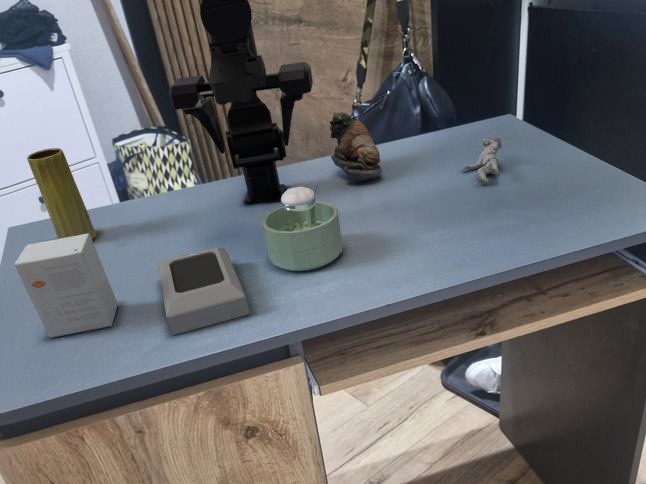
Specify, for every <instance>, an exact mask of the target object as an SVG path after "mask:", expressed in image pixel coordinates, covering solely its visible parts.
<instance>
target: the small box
mask: <svg viewBox="0 0 646 484" xmlns="http://www.w3.org/2000/svg"><path fill="white" fill-rule="evenodd" d="M13 266H14V268H15V270H16V272H17V275H18V276H19V278H20V280H21V282H22V284H23V286H24V288H25V290H26V293H27V295H28V297H29V299H30V301H31V303H32V305H33V307H34V309H35V311H36V313H37V315H38V317H39V319H40V322H41V323H42V325H43V327H44V330H45V332H46V333H47V335H48V337H49V338H50V339H51V338H57V337H62V336H67V335H72V334H78V333H83V332H88V331H93V330H98V329H99V330H100V329H105V328H107V327H112V326H113V323H114V320H115V315H116V313H117V308H118V306H119V303H118V300H117V298H116V296H115V293H114V290H113V288H112V286H111V283H110V281H109V278H108V276H107V272H106V271H105V268H104V265H103V263H102V261H101V259H100V256H99V253H98V250H97V249H96V246H95V244H94V240H92V239H91V236H90V234H89V233H88V234H83V235H78V236H72V237H67V238H61V239H58V238H57V239H51V240H46V241H45V240H44V241H41V242H35V243H29V244H26V245H25V246H24V248H23V249H22V251H21V253H20V254H19V256H18V257H17V259H16V261H15V262H14V264H13Z"/></svg>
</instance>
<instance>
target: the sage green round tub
mask: <svg viewBox="0 0 646 484" xmlns="http://www.w3.org/2000/svg"><path fill="white" fill-rule="evenodd" d="M315 203H316V223H317V226H316V227H313V228H309V229H306V230H299V231H290V229H289V225H288V222H287V219H286V215H285V212H284V209H283V205H281V206H279V207H276V208H275V209H272V210H271V211H269V212H268V213H266V214H265V216H263V218H262V221H261V228H262V231H263V236H264V241H265V245H266V250H267V254H268V259H269V261H270V263H271V264H272V265H273V266H275V267H277V268H280V269H282V270H284V271H290V272H306V271H312V270H316V269H319V268H322V267H325V266H327V265H329V264H330V263H332V262H334V260H336V259H337V258H338V257H339V255H341V254H342V252H343V240H342V232H341V225H340V218H339V211H338V208H337V207H336V206H335V205H334V204H333V203H332V204H331V203H328V202H325V201H320V200H315Z"/></svg>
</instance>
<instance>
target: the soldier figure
mask: <svg viewBox="0 0 646 484" xmlns="http://www.w3.org/2000/svg"><path fill="white" fill-rule="evenodd" d="M493 139H494V140H493ZM493 139H488V138H481V139H480V141H481V143H482V145H483V147H484V148H482V152H481V153H480V155H479V157H478V161H477V162H476V163H474V164H471V165H465V166H464V167H463V168H462V171H464V170H465V172H467V171H468V170H476V169H477V176H478V177H477V179H476V181H477V182H478V183H479V184H481V185H482V184H484V185H485V186H487V185H490V181H489V179H488V177H487V175H490V174H493V175H495V176H497V177H498V176H499V175H501V174H500V171H499V168H498V167H499V164H500V162H499V158H498V157H497V152H498V150H500V149H502V147H503V144H502V140H501V138H499V137H498V136H494V137H493Z"/></svg>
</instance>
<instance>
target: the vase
mask: <svg viewBox="0 0 646 484" xmlns="http://www.w3.org/2000/svg"><path fill="white" fill-rule="evenodd" d="M26 161H27V163H28V165H29V167H30V170H31V172H32V175H33V177H34V180H35V182H36V185H37V186H38V189H39V193H40V195H41V198H42V200H43V203H44V206H45V209H46V211H47V214H48V216H49V218H50V221H51V223H52V226H53V229H54V232H55V234H56V237H57V239H61V238H67V237H72V236H78V235H83V234H88V233H89V234H90V236H91V239H92V241H94V240H95V239H96V237H97V236H98V233H97V231H96V229H95V228H94V224H93V223H92V220H91V217H90V214H89V212H88V209H87V206H86V205H85V202H84V200H83V197H82V195H81V192H80V190H79V188H78V186H77V183H76V180H75V178H74V175H73V173H72V170H71V168H70V165H69V162H68V160H67V158H66V155H65V153H64V151H63V149H62V148H60V147H51V148H45V149H41V150H37V151H35V152H31V153H30V154H28V155H27V157H26Z"/></svg>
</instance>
